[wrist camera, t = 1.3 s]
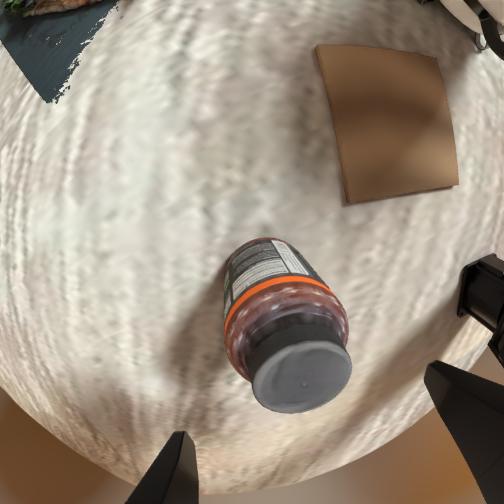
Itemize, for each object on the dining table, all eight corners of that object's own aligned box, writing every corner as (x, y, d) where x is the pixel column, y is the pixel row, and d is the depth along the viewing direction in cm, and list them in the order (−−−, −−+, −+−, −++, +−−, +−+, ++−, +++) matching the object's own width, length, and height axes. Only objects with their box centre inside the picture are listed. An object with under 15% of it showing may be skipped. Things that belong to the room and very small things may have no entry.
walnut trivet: (450, 183, 20) (458, 184, 19) (343, 200, 20) (350, 203, 18) (428, 61, 16) (436, 58, 15) (312, 50, 16) (317, 44, 15)
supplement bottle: (309, 297, 21) (372, 404, 10) (235, 317, 21) (248, 440, 10) (296, 225, 19) (376, 299, 8) (214, 246, 19) (202, 347, 8)
